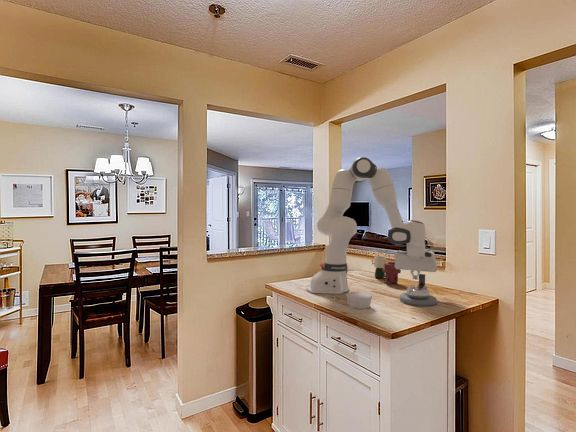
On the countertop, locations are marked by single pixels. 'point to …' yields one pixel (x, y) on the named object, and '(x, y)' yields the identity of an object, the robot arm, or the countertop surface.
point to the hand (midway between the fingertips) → (415, 279)
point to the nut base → (418, 300)
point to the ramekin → (359, 300)
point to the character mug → (379, 266)
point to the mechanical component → (391, 273)
